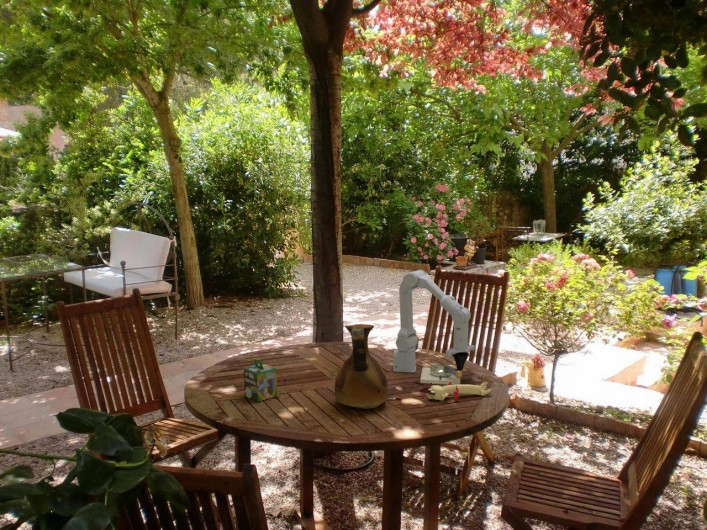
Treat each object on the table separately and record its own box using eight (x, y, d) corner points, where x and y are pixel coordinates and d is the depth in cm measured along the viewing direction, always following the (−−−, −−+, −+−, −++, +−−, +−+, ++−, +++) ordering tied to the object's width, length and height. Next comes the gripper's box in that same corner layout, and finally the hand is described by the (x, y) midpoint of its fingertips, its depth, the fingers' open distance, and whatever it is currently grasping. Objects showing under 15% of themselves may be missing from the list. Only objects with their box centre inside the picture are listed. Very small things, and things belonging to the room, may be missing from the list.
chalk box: (277, 397, 230) (277, 359, 228) (257, 403, 224) (257, 364, 222) (263, 390, 237) (262, 354, 235) (243, 396, 230) (242, 359, 228)
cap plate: (420, 382, 247) (420, 379, 246) (422, 370, 262) (422, 367, 262) (460, 385, 244) (460, 381, 244) (460, 372, 260) (460, 369, 259)
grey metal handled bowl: (425, 372, 255) (426, 361, 254) (443, 369, 259) (443, 358, 258) (451, 384, 239) (451, 373, 239) (469, 381, 243) (469, 370, 243)
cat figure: (481, 393, 239) (422, 393, 232) (483, 372, 238) (424, 371, 231) (493, 402, 229) (431, 403, 223) (495, 380, 228) (434, 380, 222)
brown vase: (385, 394, 233) (386, 318, 229) (390, 414, 213) (391, 332, 209) (334, 395, 232) (334, 319, 228) (334, 415, 212) (334, 332, 208)
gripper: (455, 342, 240) (454, 375, 242) (480, 337, 248) (479, 369, 250) (442, 338, 245) (441, 370, 247) (467, 333, 254) (466, 364, 256)
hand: (459, 369), depth 249 cm, fingers closed
